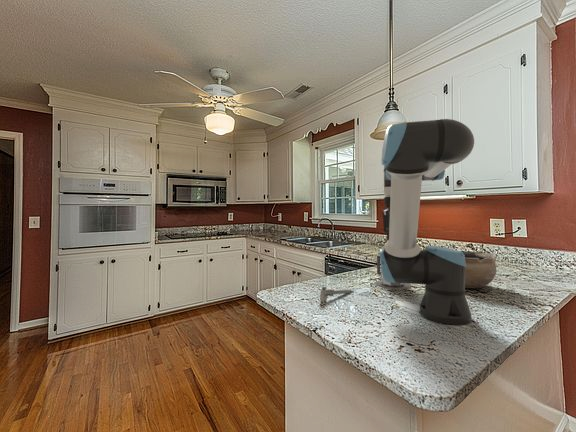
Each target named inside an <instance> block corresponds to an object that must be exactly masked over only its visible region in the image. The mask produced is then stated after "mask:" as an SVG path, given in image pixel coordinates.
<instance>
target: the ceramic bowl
mask: <svg viewBox="0 0 576 432" xmlns="http://www.w3.org/2000/svg"><path fill="white" fill-rule="evenodd" d="M460 251H461V252H462V253H463V254H464V256H465V264H466V267H465V289H482V288H484V287H487V286H488V285H489V284H490V283H491V282H493V280H494V279H495V276H496V274H497V265H496V260H497V257H498V256H497V255H495V254H494V253H493V254H492V253H491V254H489V253H485V252H479V251H478V252H477V251H468V250H460Z"/></svg>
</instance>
